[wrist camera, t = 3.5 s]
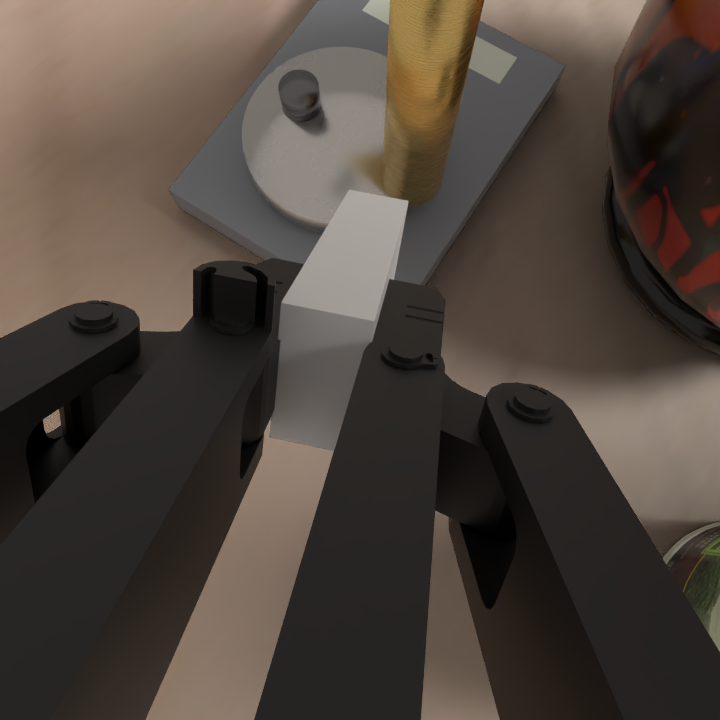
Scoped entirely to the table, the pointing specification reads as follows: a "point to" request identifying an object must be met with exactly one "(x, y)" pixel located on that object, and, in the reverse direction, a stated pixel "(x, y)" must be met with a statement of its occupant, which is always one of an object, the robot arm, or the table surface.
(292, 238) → the grey crank mechanism
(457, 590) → the table surface
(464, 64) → the lever
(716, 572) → the coffee can
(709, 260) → the brown glazed vase
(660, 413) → the table surface
